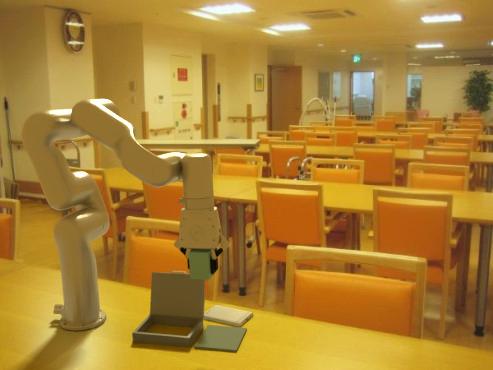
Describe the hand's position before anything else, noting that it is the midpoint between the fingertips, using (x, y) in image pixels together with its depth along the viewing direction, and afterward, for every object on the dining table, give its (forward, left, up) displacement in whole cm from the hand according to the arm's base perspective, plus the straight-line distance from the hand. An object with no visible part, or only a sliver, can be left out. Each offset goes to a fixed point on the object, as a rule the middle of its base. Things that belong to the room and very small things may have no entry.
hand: (203, 271), depth 131 cm
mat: (+4, 0, -18) cm, 19 cm away
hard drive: (+3, +13, -19) cm, 23 cm away
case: (-10, 0, -18) cm, 21 cm away
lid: (-10, +7, -10) cm, 16 cm away
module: (0, 0, -1) cm, 1 cm away
